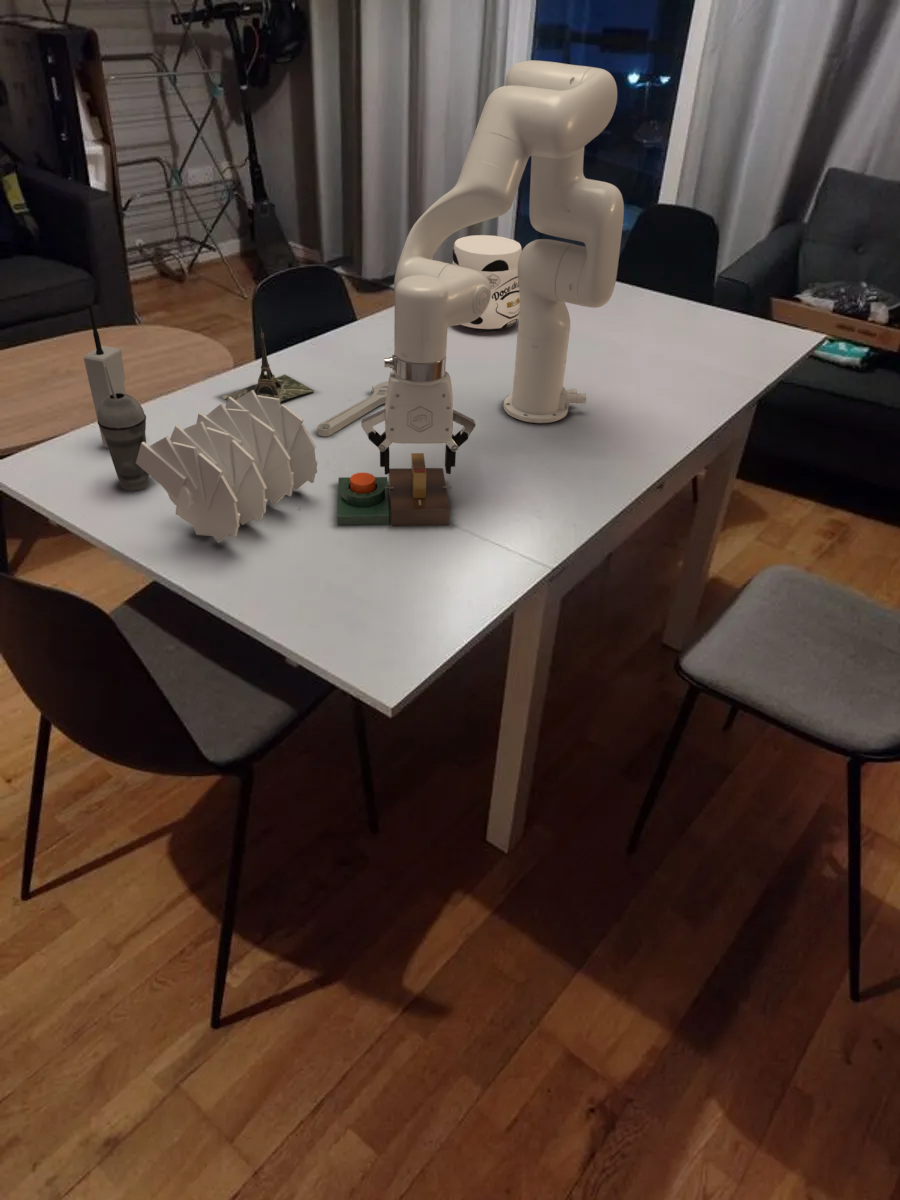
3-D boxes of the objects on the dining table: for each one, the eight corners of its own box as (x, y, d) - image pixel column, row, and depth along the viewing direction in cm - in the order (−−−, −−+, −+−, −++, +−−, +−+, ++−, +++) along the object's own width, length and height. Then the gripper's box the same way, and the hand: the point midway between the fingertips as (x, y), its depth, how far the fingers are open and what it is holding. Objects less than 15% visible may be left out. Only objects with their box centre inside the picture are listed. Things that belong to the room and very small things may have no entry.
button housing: (338, 486, 146) (338, 467, 144) (387, 485, 147) (386, 467, 145) (337, 525, 137) (336, 506, 135) (389, 524, 138) (389, 505, 135)
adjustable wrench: (325, 439, 160) (325, 430, 158) (300, 428, 163) (299, 419, 161) (414, 394, 175) (414, 386, 174) (389, 385, 178) (389, 377, 177)
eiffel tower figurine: (251, 414, 166) (244, 346, 158) (221, 397, 171) (212, 329, 163) (314, 392, 174) (310, 326, 166) (284, 376, 180) (278, 311, 172)
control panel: (383, 484, 147) (383, 467, 145) (447, 483, 148) (448, 466, 146) (386, 526, 137) (385, 509, 135) (454, 525, 138) (455, 508, 136)
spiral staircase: (311, 507, 148) (210, 575, 130) (233, 441, 150) (122, 499, 131) (349, 428, 136) (244, 490, 118) (264, 357, 137) (147, 408, 119)
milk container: (521, 339, 201) (528, 258, 190) (445, 335, 201) (448, 254, 190) (517, 312, 215) (524, 235, 204) (446, 309, 215) (449, 232, 204)
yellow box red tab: (410, 477, 143) (411, 451, 140) (423, 477, 144) (423, 451, 141) (413, 498, 138) (413, 471, 135) (425, 498, 138) (426, 471, 136)
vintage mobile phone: (139, 439, 156) (111, 298, 141) (122, 451, 153) (91, 308, 137) (121, 435, 157) (91, 295, 142) (103, 447, 154) (71, 305, 138)
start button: (350, 481, 141) (350, 472, 140) (375, 481, 142) (375, 472, 141) (350, 494, 138) (349, 485, 137) (375, 494, 139) (375, 484, 138)
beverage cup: (133, 500, 140) (108, 381, 128) (102, 486, 143) (74, 369, 131) (167, 481, 145) (147, 365, 133) (136, 468, 148) (113, 354, 136)
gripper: (360, 376, 124) (362, 482, 135) (481, 377, 126) (474, 481, 136) (360, 355, 130) (361, 459, 141) (476, 356, 132) (469, 458, 142)
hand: (417, 470), depth 139 cm, fingers open, 9 cm apart
